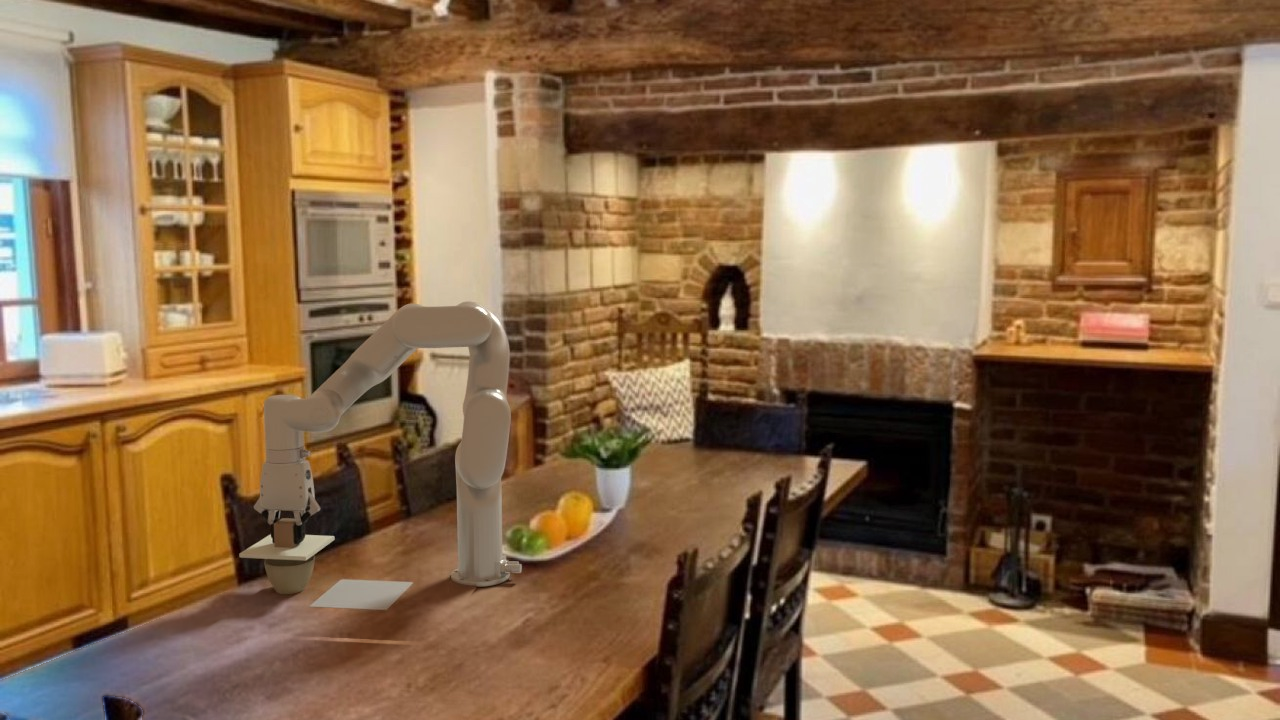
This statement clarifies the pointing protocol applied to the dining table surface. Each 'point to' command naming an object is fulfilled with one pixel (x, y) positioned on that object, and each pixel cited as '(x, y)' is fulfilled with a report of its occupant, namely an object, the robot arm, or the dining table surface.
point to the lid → (286, 544)
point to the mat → (362, 594)
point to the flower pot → (289, 574)
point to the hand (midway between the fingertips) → (288, 540)
